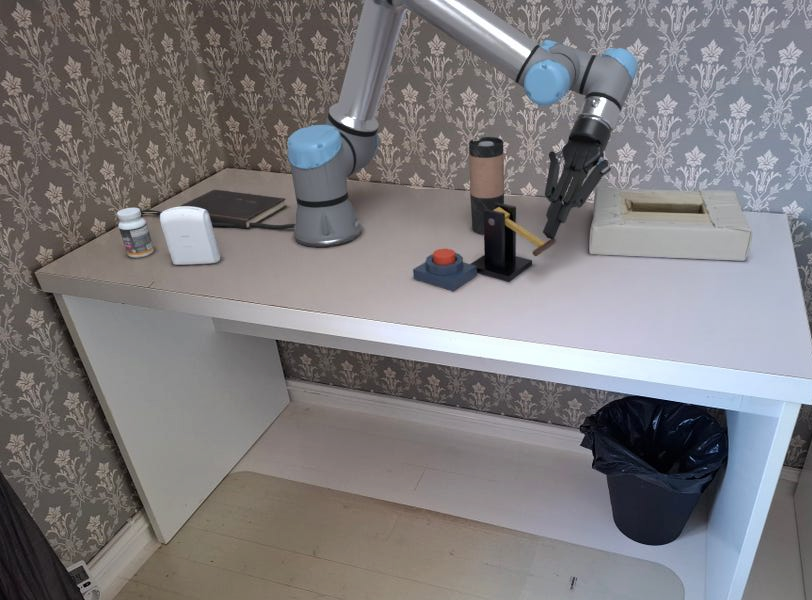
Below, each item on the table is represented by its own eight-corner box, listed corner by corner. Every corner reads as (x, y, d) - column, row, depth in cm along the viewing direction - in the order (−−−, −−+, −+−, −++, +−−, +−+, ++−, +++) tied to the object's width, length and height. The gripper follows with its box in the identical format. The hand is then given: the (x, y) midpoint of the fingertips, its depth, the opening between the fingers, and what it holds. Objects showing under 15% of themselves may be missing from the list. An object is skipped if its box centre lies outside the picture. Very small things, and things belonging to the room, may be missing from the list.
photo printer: (170, 266, 146) (153, 211, 139) (177, 258, 150) (161, 204, 143) (217, 265, 146) (203, 210, 139) (223, 256, 149) (210, 202, 143)
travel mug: (501, 235, 154) (500, 146, 143) (468, 234, 155) (465, 146, 144) (506, 223, 160) (506, 136, 149) (474, 221, 161) (472, 136, 150)
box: (588, 256, 143) (748, 262, 137) (590, 221, 139) (755, 226, 133) (590, 217, 162) (731, 220, 157) (592, 185, 158) (737, 187, 153)
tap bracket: (532, 265, 140) (533, 205, 133) (508, 282, 134) (508, 220, 127) (492, 254, 145) (491, 197, 138) (467, 270, 139) (465, 210, 132)
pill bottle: (123, 254, 153) (109, 212, 147) (147, 246, 156) (135, 204, 151) (134, 260, 149) (120, 218, 144) (159, 252, 153) (146, 210, 147)
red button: (428, 262, 135) (428, 254, 134) (442, 254, 137) (441, 246, 136) (446, 267, 132) (446, 259, 131) (459, 259, 135) (459, 251, 134)
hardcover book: (216, 197, 182) (214, 189, 181) (286, 207, 174) (285, 198, 173) (173, 218, 170) (170, 210, 169) (247, 230, 162) (245, 220, 161)
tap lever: (553, 247, 134) (558, 237, 132) (535, 259, 129) (539, 250, 127) (502, 212, 137) (505, 203, 135) (482, 224, 132) (486, 214, 131)
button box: (413, 279, 137) (412, 261, 135) (437, 264, 142) (436, 246, 140) (453, 291, 132) (452, 272, 129) (476, 275, 137) (476, 257, 135)
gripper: (558, 112, 133) (512, 220, 130) (619, 119, 126) (572, 234, 124) (570, 133, 139) (526, 237, 137) (629, 141, 132) (584, 250, 130)
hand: (548, 235), depth 130 cm, fingers closed
